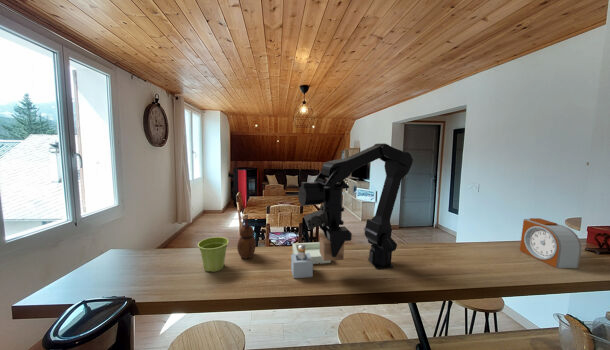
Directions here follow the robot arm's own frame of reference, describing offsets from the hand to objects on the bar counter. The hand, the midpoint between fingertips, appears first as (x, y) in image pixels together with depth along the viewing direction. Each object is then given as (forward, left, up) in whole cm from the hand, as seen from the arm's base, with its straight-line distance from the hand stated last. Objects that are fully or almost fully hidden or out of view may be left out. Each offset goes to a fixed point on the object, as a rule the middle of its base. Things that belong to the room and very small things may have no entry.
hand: (331, 252), depth 75 cm
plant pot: (+37, -9, -8) cm, 39 cm away
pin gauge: (+9, -3, -8) cm, 12 cm away
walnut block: (0, 0, -1) cm, 1 cm away
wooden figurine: (+27, -16, -8) cm, 32 cm away
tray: (+4, -13, -8) cm, 16 cm away
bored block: (+9, -2, -8) cm, 12 cm away
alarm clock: (-83, 0, -8) cm, 84 cm away
